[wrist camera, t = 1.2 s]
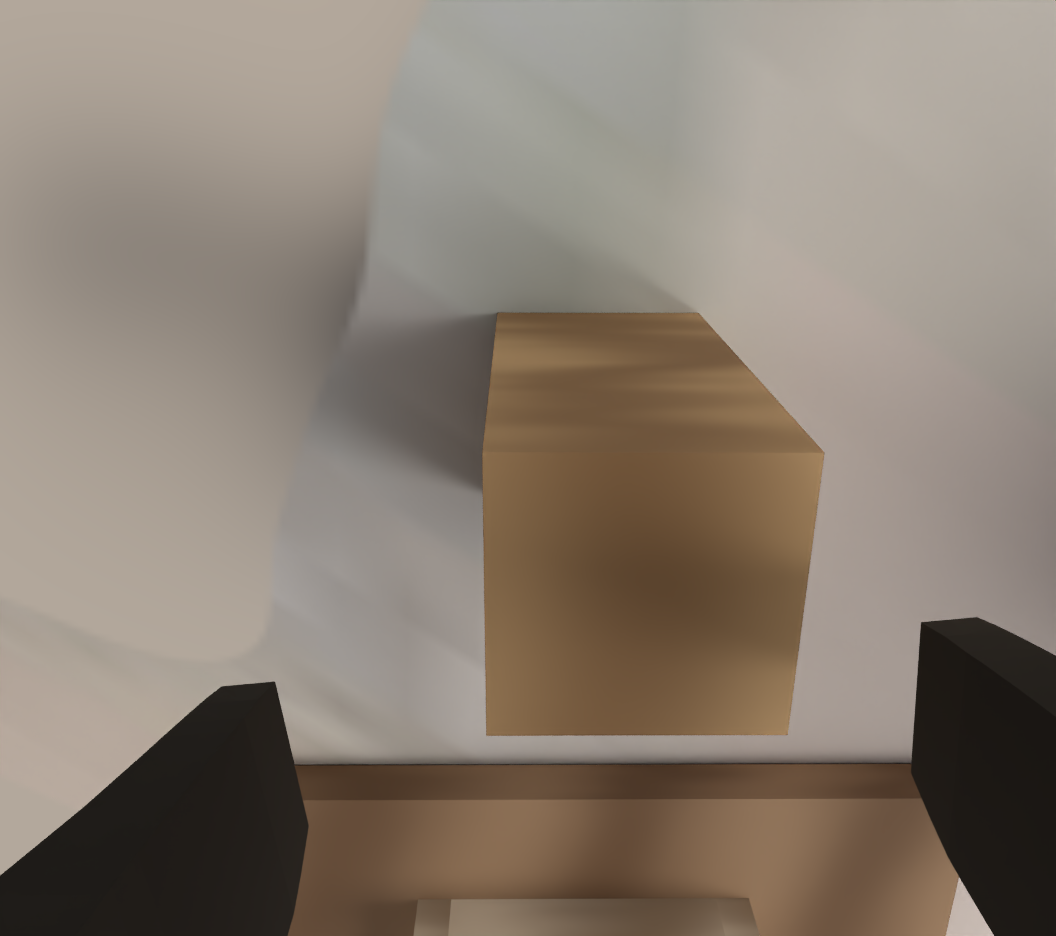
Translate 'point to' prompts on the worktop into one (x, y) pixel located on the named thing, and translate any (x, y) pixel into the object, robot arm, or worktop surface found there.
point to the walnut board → (620, 851)
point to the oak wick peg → (640, 531)
